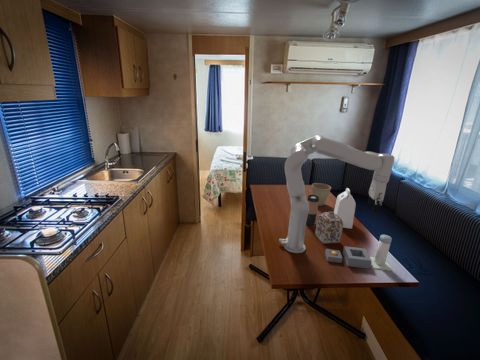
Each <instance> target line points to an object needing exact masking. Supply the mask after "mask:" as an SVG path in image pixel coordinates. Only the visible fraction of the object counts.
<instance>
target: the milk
mask: <svg viewBox="0 0 480 360" xmlns="http://www.w3.org/2000/svg"><path fill="white" fill-rule="evenodd" d="M356 206H357V205H356V201H355V199H354V198H353V195H352V194H351V190H350V188H348V187H346V188H345V191H343V192H341V193H339V194H338V195H337V197H336V201H335V206H334V209H333V212H334V213H335V214H337V215H339V216H340V217H341V219H342V221H343V228H345V229H353V225H354V217H355V213H356Z"/></svg>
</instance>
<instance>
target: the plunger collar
mask: <svg viewBox="0 0 480 360" xmlns="http://www.w3.org/2000/svg"><path fill="white" fill-rule="evenodd" d="M331 251H336V252H337V256H336V255H331ZM324 254H325V258H326V261H327V262H331V263H337V264H339V263H340V264H342V263H343V258H344V257H343V254H342V253H341V250H338V249H331V248H325V252H324Z"/></svg>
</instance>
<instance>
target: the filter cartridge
mask: <svg viewBox="0 0 480 360" xmlns="http://www.w3.org/2000/svg"><path fill="white" fill-rule="evenodd" d="M392 239H393V238H392V237H391V236H390V235H387V234H380V236H379V241H378V244H377V245H378V246H377V248H376V251H375V252H376V254H375V256H374V257H375V261H374V262H375V263H376V264H377V265H379V266H384V265H385V262H386V261H387V259H388V258H387V257H388V254H389V251H390V247H391V243H392Z"/></svg>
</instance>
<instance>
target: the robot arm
mask: <svg viewBox="0 0 480 360" xmlns="http://www.w3.org/2000/svg"><path fill="white" fill-rule="evenodd" d="M314 153H316V154H319V155H322V156H325V157H329V158H333V159H335V160H336V159H337V160H339V161H342V162H345V163H348V164H351V165H354V166H355V167H359V168H363V169H366V170H369V171H373V174H372V180H371V183H370V187H369V189H368V195H369V197H368V200H367V204H368V205H372V206H373V208H372V212H375V213H376V212H377V213H380V212H381V207H382V205H383V201H384V198H385V194H386V189H387V184H388V183H389V181H390V177H391V173H392V171H393V166H394V162H395V156H394V155H392V154H389V153H378V152H374V151H368V150H367V151H363V150H360V149H357V148H355V147H354V146H352V145H349V144H347V143H344V142H341V141H336V140H333V139H330V138H327V137H325V136H323V135H320V134H316V135H313V136H312V137H309V138H307V139H305V140H303V141H300V142H297V143H296V144H295V145H293V146H292V147H291V149H290V155H289V156H288V157H287V159H286V160H285V161H284V174H285V180H286V188H287V191H288V196H289V201H290V214H289V220H288V221H289V222H288V229H287V236H286V238H279V239H278V242H279V243H280V244H281V245H283V247H284V249H285V250H286V251H288V252H290V253H293V254H302V253H304V252H305V251H306V248H307V247H306V245H305V244H304V242H305V236H306V235H305V233H306V227H307V224H306V222H307V216H308V213H309V204H308V201H307V199H308V197H307V195H306V190H305V187H306V186H305V181H304V179H303V175H302V174H303V173H302V167H303V164H305V163H306V162H307V160H308V159H309V155H312V154H314Z"/></svg>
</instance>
